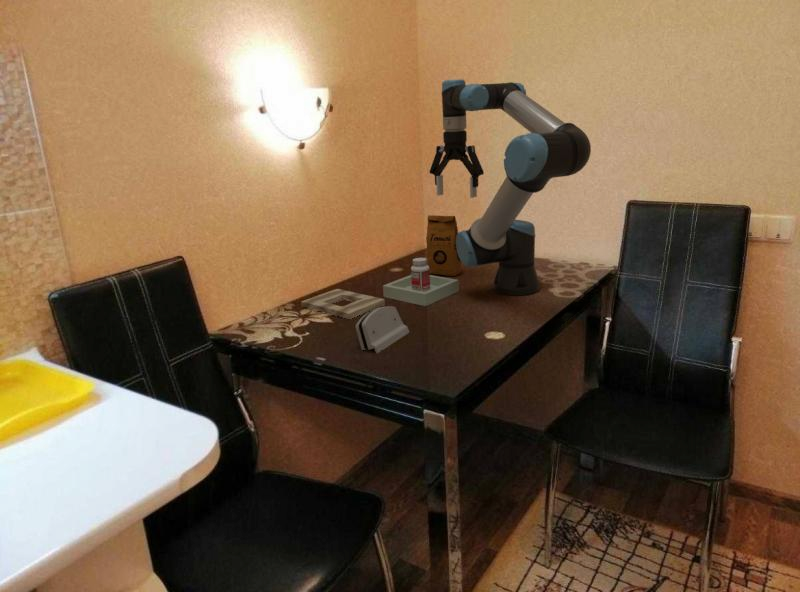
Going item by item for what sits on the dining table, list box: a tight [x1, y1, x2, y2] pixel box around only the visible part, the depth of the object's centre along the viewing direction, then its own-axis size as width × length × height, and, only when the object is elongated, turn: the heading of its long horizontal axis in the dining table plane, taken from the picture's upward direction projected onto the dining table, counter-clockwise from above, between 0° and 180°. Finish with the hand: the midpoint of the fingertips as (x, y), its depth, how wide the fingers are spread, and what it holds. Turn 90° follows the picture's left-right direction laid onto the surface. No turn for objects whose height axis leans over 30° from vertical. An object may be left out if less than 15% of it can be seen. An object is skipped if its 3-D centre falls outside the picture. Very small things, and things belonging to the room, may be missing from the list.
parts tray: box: [382, 274, 460, 307], centre depth 198 cm, size 18×18×4 cm
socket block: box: [301, 288, 386, 320], centre depth 190 cm, size 22×16×2 cm
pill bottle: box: [410, 257, 431, 292], centre depth 196 cm, size 6×6×11 cm
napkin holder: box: [355, 305, 410, 354], centre depth 160 cm, size 17×5×10 cm, turn 148°
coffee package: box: [425, 214, 462, 277], centre depth 217 cm, size 10×12×22 cm
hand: (456, 196), depth 198 cm, fingers open, 13 cm apart
